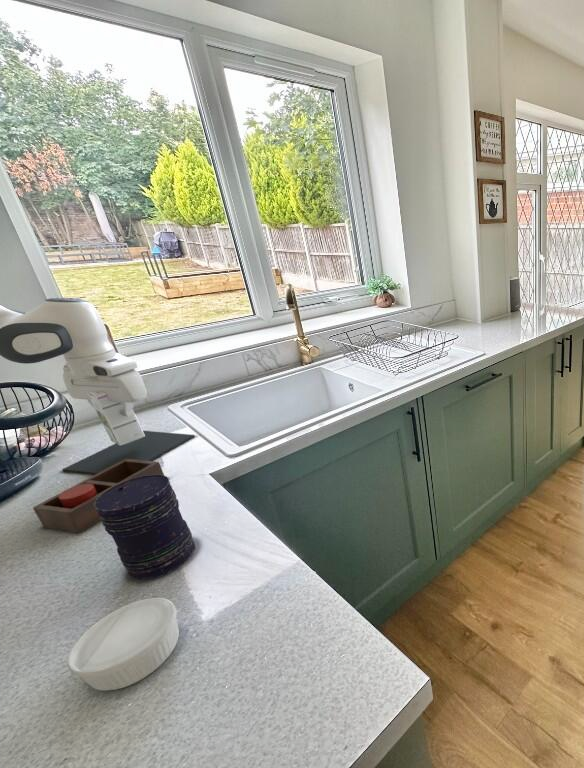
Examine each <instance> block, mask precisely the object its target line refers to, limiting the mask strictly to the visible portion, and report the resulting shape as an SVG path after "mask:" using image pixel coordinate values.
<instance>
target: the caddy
mask: <svg viewBox="0 0 584 768" xmlns="http://www.w3.org/2000/svg"><path fill="white" fill-rule="evenodd" d="M163 471H164V470H163V469H162V467H161V464H160V462H159V461H154V460H152V461H144V460H134V459H124V460H122V461H121V462H119V463H117V464H115V465H113V466H111V467H109V468H107V469H105V470H103V471H101V472H100V473H98V474H96V475H92V476H90V477H88V478H86V479H83V480H82V481H80V482H79V483H77V484H75V485H73V486H71V487H69V488H67V489H65V490H63V491H62V492H64V491H66V490H68V489H70V488H72V487H75V486H78V485H82V484H93V485H94V487H95V489H96V491H97V493H98V494H97V495H96V496H94V497H92V498H90V499H89V500H87V501H85V502H83V503H82V504H80V505H78V506H76V507H74V508H73V509H69V508H64V507H63V505H62V503H61V501H60V499H59V495H60V494H61V493H62V492H59V493H57V494H56V495H54V496H52V497H50V498H48V499H46V500H44V501H43V502H40V503H38V504H37V505H35V506H33V507H32V509H33V511H34V513H35V514H36V517H37V518H38V520H39V522H40V523H41V525H42V527H43V528H46V529H51V530H52V529H53V530H60V531H66V532H73V533H81V534H82V533H83V532H84V531H86V530H88V529H89V528H91V527H92V526H94V525H95V524H97V523H98V522H100V521H101V520H100V516H99V514H98V511H97V510H96V508H95V506H94V503H95V501H96V499H97V498H98V497H99V496H100V495H101V494H103V493H104V492H105V491H107V490H108V489H110V488H112V487H114V486H116V485H118V484H120V483H123V482H125V481H128V480H131V479H134V478H138V477H142V476H147V475H163V476H165V474H164V472H163Z"/></svg>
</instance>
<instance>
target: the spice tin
mask: <svg viewBox="0 0 584 768" xmlns="http://www.w3.org/2000/svg"><path fill="white" fill-rule="evenodd" d="M74 486H75V485H74ZM71 487H72V488H71ZM71 487H69V488H70V489H69V488H67V489H68V490H67V489H65V490H66V491H65V490H63V491H64V492H63V491H62V493H61V492H60V493H61V494H60V493H59V494H60V495H59V499H60V501H61V503H62V505H63V507H64V508H69V509H73V508H74V507H76V506H78V505H80V504H82V503H83V502H85V501H87V500H89V499H90V498H92V497H94V496H96V495H97V494H98V493H97V491H96V489H95V487H94V485H93V484H82V485H78V486H75V487H73V486H71Z"/></svg>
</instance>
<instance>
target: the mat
mask: <svg viewBox="0 0 584 768" xmlns="http://www.w3.org/2000/svg"><path fill="white" fill-rule="evenodd" d="M143 432H144V434H145V437H143V438H140V439H138V440H135V441H132V442H130V443H127V444H124V445H121V446H119V445H117V444H116V443H114V444H111V445H110V446H107V447H106V448H103V449H101V450H99V451H96V452H95V453H93V454H90V455H88V456H87V457H85V458H83V459H81V460H79V461H76V462H74V463H72V464H70V465H68V466H66V467H63V468H61V469H62V471H63V472H67V473H75V474H84V475H85V474H86V475H92V476H94V475H96V474H98V473H100V472H101V471H103V470H105V469H107V468H109V467H111V466H113V465H115V464H117V463H119V462H121V461H122V460H124V459H134V460H144V461H154V460H156V459H158V458H159V457H161V456H164V455H165V454H167V453H169V452H171V451H172V450H174V449H175V448H177V447H179V446H181V445H183V444H185V443H187V442H188V441H190V440H192V439H193V438H195V434H188V433H187V434H184V433H175V432H163V431H151V430H143Z"/></svg>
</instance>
